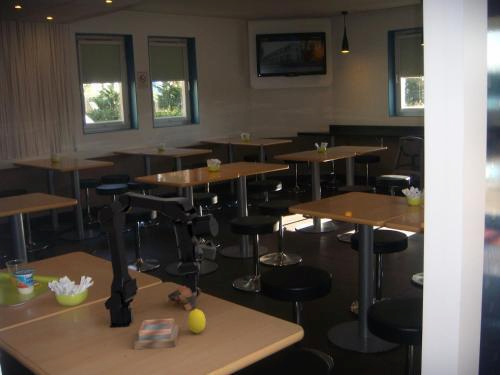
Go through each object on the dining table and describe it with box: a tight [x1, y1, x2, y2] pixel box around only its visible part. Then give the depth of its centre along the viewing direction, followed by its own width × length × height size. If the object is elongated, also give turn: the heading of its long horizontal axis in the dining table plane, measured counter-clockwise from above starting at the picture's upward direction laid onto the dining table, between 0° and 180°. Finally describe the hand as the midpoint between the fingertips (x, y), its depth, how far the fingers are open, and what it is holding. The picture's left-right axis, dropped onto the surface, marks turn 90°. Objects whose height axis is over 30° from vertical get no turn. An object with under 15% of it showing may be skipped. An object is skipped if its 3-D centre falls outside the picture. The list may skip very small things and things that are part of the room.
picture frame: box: [133, 318, 180, 350], centre depth 174 cm, size 12×12×5 cm
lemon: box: [187, 308, 207, 335], centre depth 177 cm, size 6×6×8 cm
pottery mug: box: [167, 285, 202, 312], centre depth 202 cm, size 12×10×8 cm
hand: (195, 288), depth 176 cm, fingers open, 9 cm apart
